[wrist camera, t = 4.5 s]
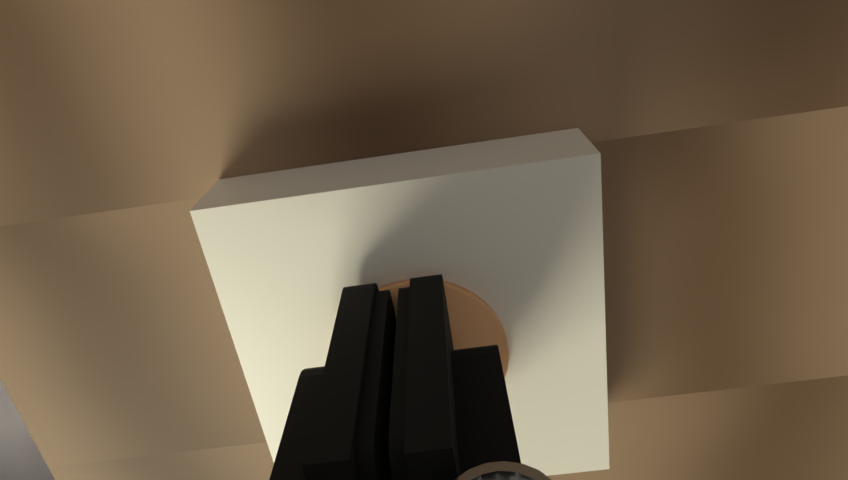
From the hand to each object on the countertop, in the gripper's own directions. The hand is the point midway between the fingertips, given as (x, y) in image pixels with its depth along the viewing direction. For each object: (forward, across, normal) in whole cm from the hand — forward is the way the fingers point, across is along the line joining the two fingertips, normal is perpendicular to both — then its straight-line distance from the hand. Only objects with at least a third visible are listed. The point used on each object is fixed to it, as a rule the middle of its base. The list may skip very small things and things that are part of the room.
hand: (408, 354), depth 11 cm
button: (+6, 0, 0) cm, 6 cm away
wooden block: (+7, 0, 0) cm, 7 cm away
